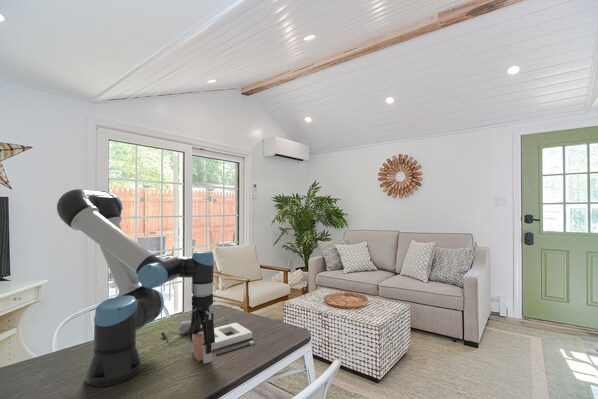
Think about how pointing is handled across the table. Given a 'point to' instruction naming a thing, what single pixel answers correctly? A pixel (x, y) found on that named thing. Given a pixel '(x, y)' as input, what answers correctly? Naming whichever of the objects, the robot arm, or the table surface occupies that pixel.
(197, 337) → the block
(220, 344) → the outlet plate
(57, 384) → the table surface
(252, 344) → the cable
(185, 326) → the clip-on lamp
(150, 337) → the table surface
